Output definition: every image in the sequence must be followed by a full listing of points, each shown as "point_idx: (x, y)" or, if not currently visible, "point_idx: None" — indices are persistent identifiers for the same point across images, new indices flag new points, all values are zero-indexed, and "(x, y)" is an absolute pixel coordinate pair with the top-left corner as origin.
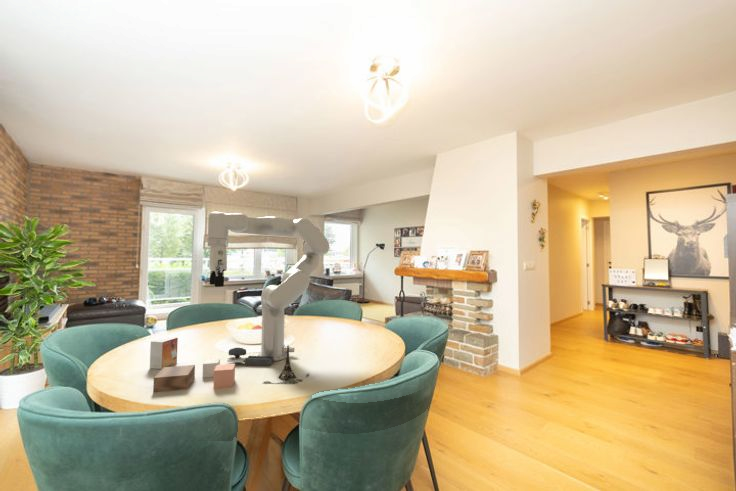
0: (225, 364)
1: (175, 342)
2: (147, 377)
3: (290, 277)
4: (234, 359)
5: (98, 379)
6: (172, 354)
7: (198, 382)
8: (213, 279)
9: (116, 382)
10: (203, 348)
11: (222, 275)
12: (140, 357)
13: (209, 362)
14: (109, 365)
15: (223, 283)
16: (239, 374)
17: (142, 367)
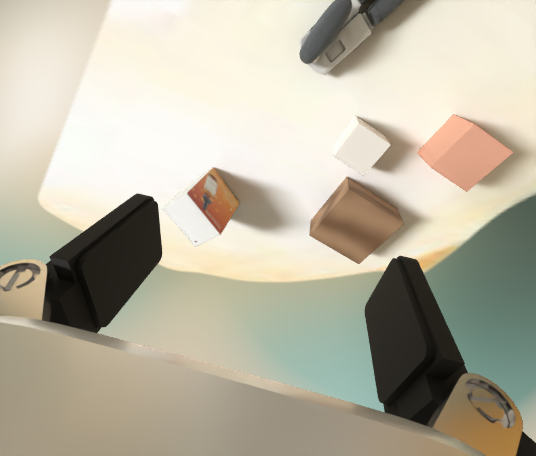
0: (451, 148)
1: (198, 194)
2: (270, 231)
3: None
4: (329, 49)
5: (227, 274)
6: (214, 189)
7: (381, 181)
8: (131, 268)
9: (261, 264)
10: (111, 62)
11: (489, 405)
12: None
13: (366, 159)
14: None
15: (425, 280)
16: (428, 82)
17: None
